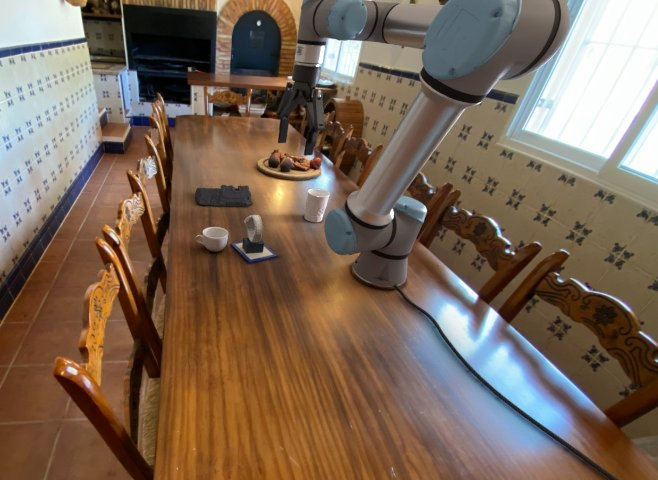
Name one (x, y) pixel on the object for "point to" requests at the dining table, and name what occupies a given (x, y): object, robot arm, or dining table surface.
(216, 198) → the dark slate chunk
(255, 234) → the watch
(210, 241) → the teacup
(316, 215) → the white cup
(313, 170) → the wooden plate
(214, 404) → the dining table surface
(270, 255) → the coaster
